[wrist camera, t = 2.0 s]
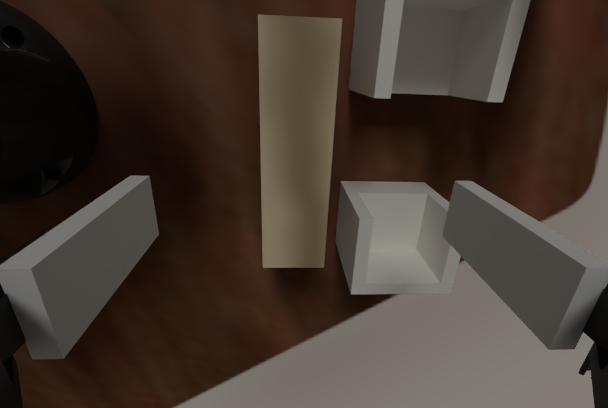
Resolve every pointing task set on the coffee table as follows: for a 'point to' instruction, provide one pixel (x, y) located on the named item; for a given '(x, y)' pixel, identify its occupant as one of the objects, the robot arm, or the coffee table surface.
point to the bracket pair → (430, 81)
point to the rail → (296, 135)
